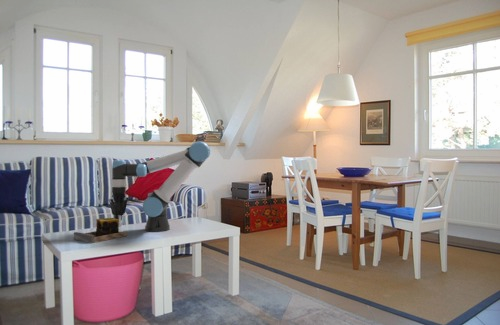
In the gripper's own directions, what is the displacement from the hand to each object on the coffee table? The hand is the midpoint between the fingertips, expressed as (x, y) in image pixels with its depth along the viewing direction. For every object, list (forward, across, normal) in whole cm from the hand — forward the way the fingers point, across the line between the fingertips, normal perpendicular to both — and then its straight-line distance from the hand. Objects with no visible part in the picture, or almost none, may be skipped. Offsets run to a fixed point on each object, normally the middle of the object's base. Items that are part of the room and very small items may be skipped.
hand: (118, 226), depth 235 cm
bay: (+5, +12, +1) cm, 13 cm away
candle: (+5, +8, +1) cm, 10 cm away
